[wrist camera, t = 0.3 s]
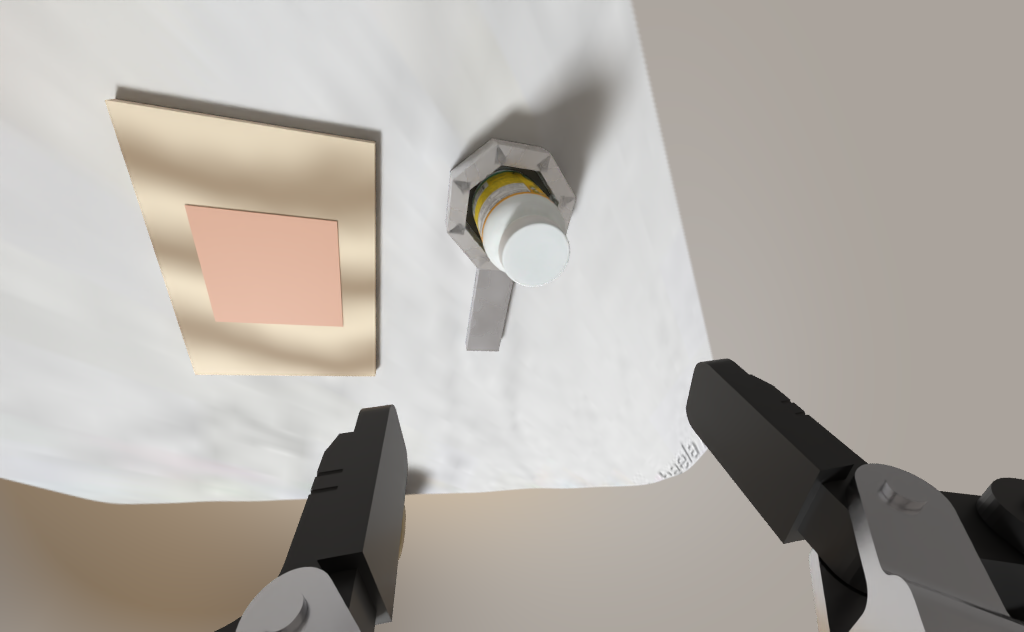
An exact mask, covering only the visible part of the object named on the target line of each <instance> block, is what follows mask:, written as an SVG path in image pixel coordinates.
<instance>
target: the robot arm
mask: <svg viewBox="0 0 1024 632" xmlns="http://www.w3.org/2000/svg"><path fill="white" fill-rule="evenodd" d="M686 413H687V417H688V420H689V423H690V425H691V427H692V428H693V430H694V431H695V432H696V434H697V435H698V436H699V437H700V439H701V440H702V441H703V442H704V444H705V445H706V446H707V447H708V449H709V450H710V451H711V452H712V454H713V455H714V456H715V458H716V459H717V460H718V461H719V463H720V464H721V465H722V466H723V468H724V469H725V470H726V471H727V473H728V474H729V475H730V477H731V478H732V479H733V480H734V482H735V483H736V484H737V485H738V487H739V488H740V489H741V491H742V492H743V493H744V494H745V496H746V497H747V498H748V499H749V501H750V502H751V503H752V504H753V506H754V507H755V508H756V509H757V511H758V512H759V513H760V514H761V516H762V517H763V518H764V520H765V521H766V522H767V523H768V525H769V526H770V527H771V528H772V530H773V531H774V532H775V534H776V535H777V536H778V537H779V539H780V540H781V541H782V542H783V544H785V543H790V542H795V541H800V540H804V539H805V540H806V541H807V542H808V543H809V544H810V546H811V547H812V549H811V551H810V554H809V563H810V571H811V578H812V586H813V593H814V600H815V608H816V615H817V623H818V630H819V632H1024V480H1022V479H1016V478H1000V479H997V480H995V481H994V482H993V483H992V484H991V485H990V486H989V487H988V488H987V490H986V491H985V492H984V493H983V494H982V496H977V495H969V494H960V493H952V492H943V491H938V490H937V489H936V488H934V487H933V486H932V485H930V484H929V483H927V482H926V481H924V480H922V479H921V478H919V477H917V476H915V475H913V474H911V473H909V472H906V471H904V470H901V469H898V468H895V467H892V466H888V465H884V464H868V463H867V462H865V461H864V460H863V459H861V458H860V457H859V456H858V455H857V454H855V453H854V452H853V451H852V450H851V449H849V448H848V447H847V446H846V445H845V444H843V443H842V442H841V441H840V440H838V439H837V438H836V437H835V436H834V435H832V434H831V433H830V432H829V431H827V430H826V429H825V428H824V427H823V426H821V425H820V424H819V423H818V422H816V421H815V420H814V419H813V418H812V417H811V416H809V415H805V412H804V411H803V410H802V409H801V408H800V407H798V406H797V405H796V404H795V403H791V402H790V399H789V398H787V397H786V396H785V395H784V394H783V393H781V392H780V391H779V390H778V389H776V388H775V387H774V386H773V385H771V384H769V383H767V382H765V381H763V380H761V379H759V378H757V377H755V376H753V375H749V374H748V373H746V372H745V371H744V370H743V369H742V368H740V366H738V365H737V364H736V363H735V362H733V361H732V360H730V359H720V360H712V361H705V362H700V363H698V364H697V365H696V367H695V369H694V373H693V378H692V382H691V387H690V391H689V396H688V400H687V405H686ZM407 471H408V463H407V452H406V447H405V443H404V439H403V435H402V431H401V427H400V424H399V420H398V416H397V412H396V409H395V406H394V405H385V406H378V407H371V408H364V409H361V411H360V413H359V416H358V419H357V423H356V426H355V429H354V432H349V433H342V434H339V435H338V436H337V438H336V439H335V440H334V441H333V442H332V444H331V445H330V446H329V447H328V449H327V450H326V451H325V452H324V455H323V457H322V460H321V463H320V466H319V468H318V471H317V477H315V480H314V482H313V485H312V488H311V494H310V495H309V496H308V499H307V502H306V505H305V507H304V510H303V513H302V516H301V518H300V521H299V524H298V527H297V530H296V532H295V535H294V538H293V541H292V544H291V546H290V549H289V552H288V555H287V557H286V560H285V563H284V566H283V568H282V570H281V572H280V574H279V576H278V578H276V579H275V580H273V581H272V582H271V583H269V584H268V585H267V586H266V587H265V588H263V589H262V590H261V591H260V592H259V593H258V595H257V596H256V597H255V598H254V599H253V600H252V602H251V603H250V604H249V606H248V607H247V609H246V610H245V612H244V614H243V616H241V617H240V618H238V619H237V620H235V621H234V622H232V623H230V624H228V625H227V626H225V627H223V628H221V629H219V630H217V631H215V632H374V627H375V625H377V624H382V623H387V622H391V621H392V613H393V603H394V594H395V585H396V575H397V566H398V557H399V547H400V538H401V529H402V519H403V510H404V500H405V491H406V482H407Z"/></svg>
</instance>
